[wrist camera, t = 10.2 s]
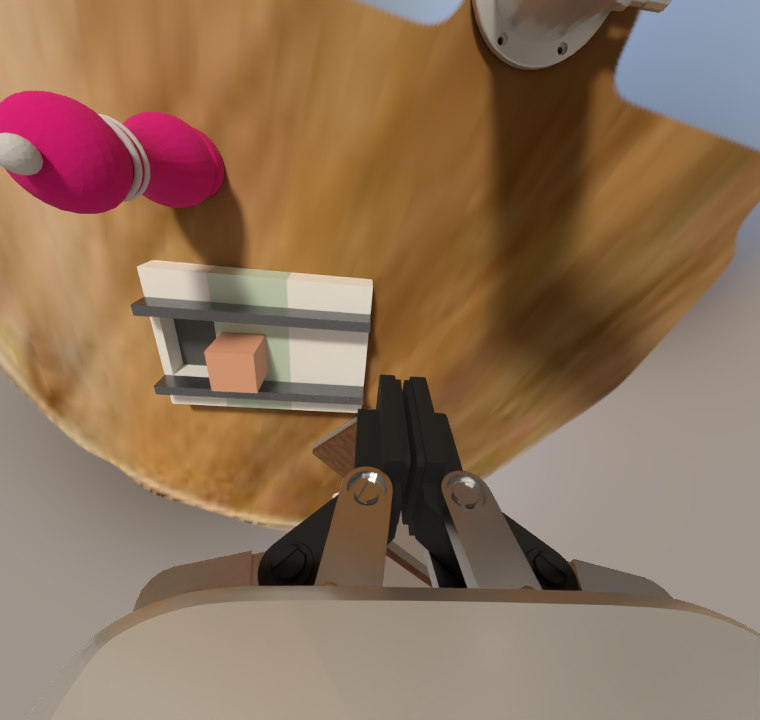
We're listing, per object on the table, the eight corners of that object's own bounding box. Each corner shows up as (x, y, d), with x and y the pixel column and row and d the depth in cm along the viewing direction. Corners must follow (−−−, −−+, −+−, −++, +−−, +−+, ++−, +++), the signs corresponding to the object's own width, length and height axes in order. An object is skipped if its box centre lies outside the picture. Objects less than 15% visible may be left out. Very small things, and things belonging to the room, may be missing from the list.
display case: (370, 407, 49) (383, 790, 18) (410, 447, 53) (475, 809, 23) (314, 443, 52) (246, 824, 22) (356, 478, 56) (350, 834, 26)
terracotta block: (265, 334, 39) (253, 354, 35) (268, 370, 41) (257, 393, 37) (222, 331, 38) (204, 351, 34) (227, 368, 41) (211, 391, 37)
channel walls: (370, 314, 38) (370, 323, 36) (362, 393, 44) (362, 405, 42) (144, 296, 36) (130, 304, 34) (166, 382, 42) (156, 394, 39)
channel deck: (372, 279, 39) (372, 287, 37) (361, 400, 48) (361, 413, 45) (152, 260, 37) (136, 266, 34) (183, 390, 46) (172, 403, 43)
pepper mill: (201, 219, 35) (44, 263, 18) (138, 158, 32) (-123, 141, 15) (244, 169, 33) (115, 165, 16) (181, 100, 30) (-63, 0, 13)
